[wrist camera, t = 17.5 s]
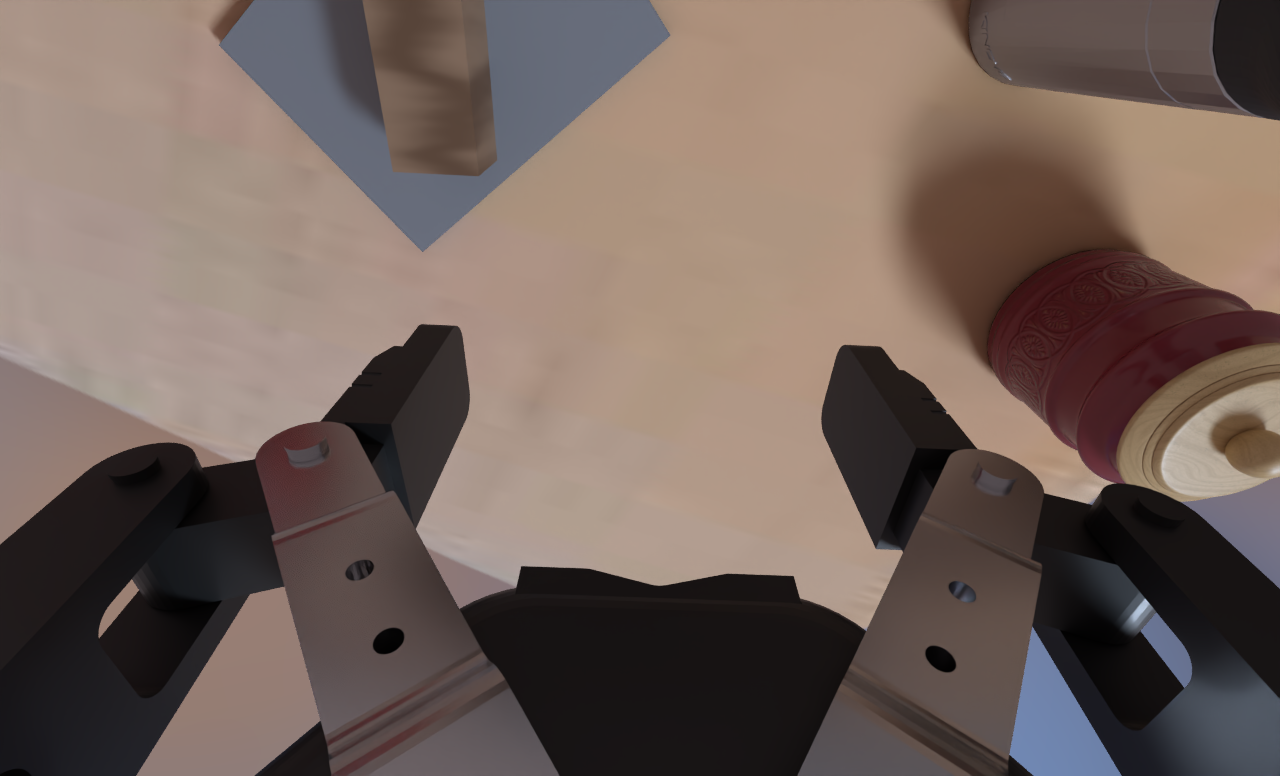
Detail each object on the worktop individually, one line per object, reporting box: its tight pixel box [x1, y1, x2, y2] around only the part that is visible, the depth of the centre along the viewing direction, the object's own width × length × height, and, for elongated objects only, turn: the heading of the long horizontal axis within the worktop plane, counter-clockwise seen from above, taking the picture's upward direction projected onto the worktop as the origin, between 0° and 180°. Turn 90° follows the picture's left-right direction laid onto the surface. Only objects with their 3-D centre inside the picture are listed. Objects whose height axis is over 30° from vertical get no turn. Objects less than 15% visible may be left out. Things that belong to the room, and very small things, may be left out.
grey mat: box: [219, 0, 670, 252], centre depth 34 cm, size 22×16×1 cm
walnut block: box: [362, 0, 497, 176], centre depth 32 cm, size 5×5×12 cm
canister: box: [988, 249, 1280, 502], centre depth 37 cm, size 13×13×18 cm
